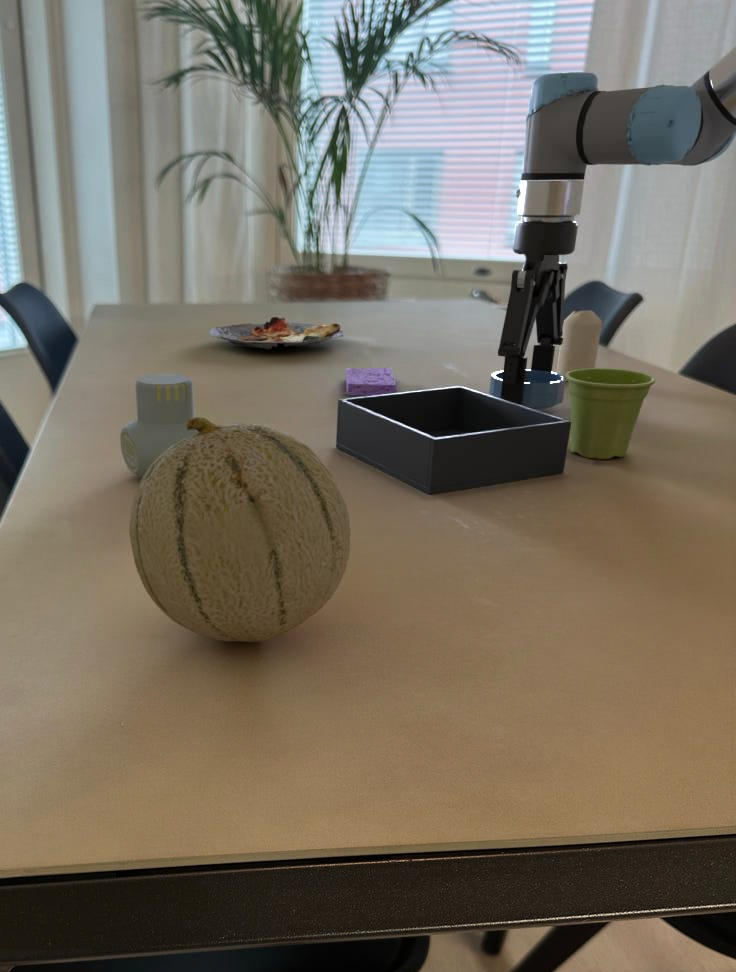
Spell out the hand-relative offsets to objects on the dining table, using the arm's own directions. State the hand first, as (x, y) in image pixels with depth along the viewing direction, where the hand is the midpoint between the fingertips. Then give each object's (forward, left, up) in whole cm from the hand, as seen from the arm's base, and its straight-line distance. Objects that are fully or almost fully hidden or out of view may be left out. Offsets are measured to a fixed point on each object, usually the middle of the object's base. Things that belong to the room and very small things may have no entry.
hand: (524, 400), depth 123 cm
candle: (+12, -20, -1) cm, 23 cm away
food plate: (+60, +8, -1) cm, 61 cm away
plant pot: (-21, +7, -1) cm, 22 cm away
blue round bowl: (0, 0, 0) cm, 0 cm away
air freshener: (-8, +54, -1) cm, 55 cm away
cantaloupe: (-45, +62, -1) cm, 76 cm away
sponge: (+20, +12, -1) cm, 24 cm away
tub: (-16, +24, -1) cm, 29 cm away
